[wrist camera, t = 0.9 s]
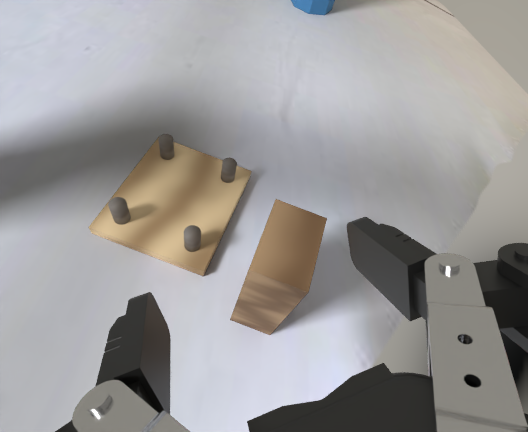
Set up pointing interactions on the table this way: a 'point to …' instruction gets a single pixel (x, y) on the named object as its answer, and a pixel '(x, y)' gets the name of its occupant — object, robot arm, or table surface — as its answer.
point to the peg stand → (174, 205)
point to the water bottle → (314, 6)
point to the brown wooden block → (280, 267)
